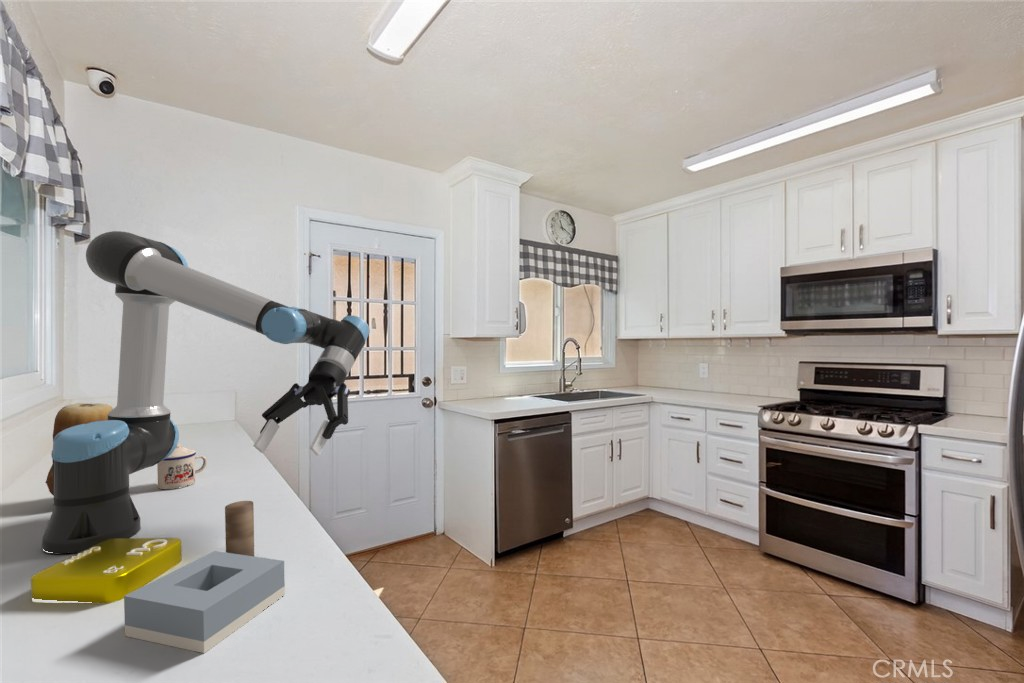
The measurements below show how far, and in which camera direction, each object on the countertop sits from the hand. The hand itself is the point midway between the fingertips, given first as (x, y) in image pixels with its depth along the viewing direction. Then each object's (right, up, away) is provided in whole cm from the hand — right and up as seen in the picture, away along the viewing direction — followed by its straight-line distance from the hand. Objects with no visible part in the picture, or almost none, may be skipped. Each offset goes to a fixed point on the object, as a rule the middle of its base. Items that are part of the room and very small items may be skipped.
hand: (285, 450), depth 94 cm
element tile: (-23, -19, -14) cm, 33 cm away
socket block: (+1, -18, -25) cm, 31 cm away
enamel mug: (-48, -19, +39) cm, 65 cm away
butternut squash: (-65, -19, +26) cm, 72 cm away
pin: (-3, -18, -10) cm, 21 cm away
